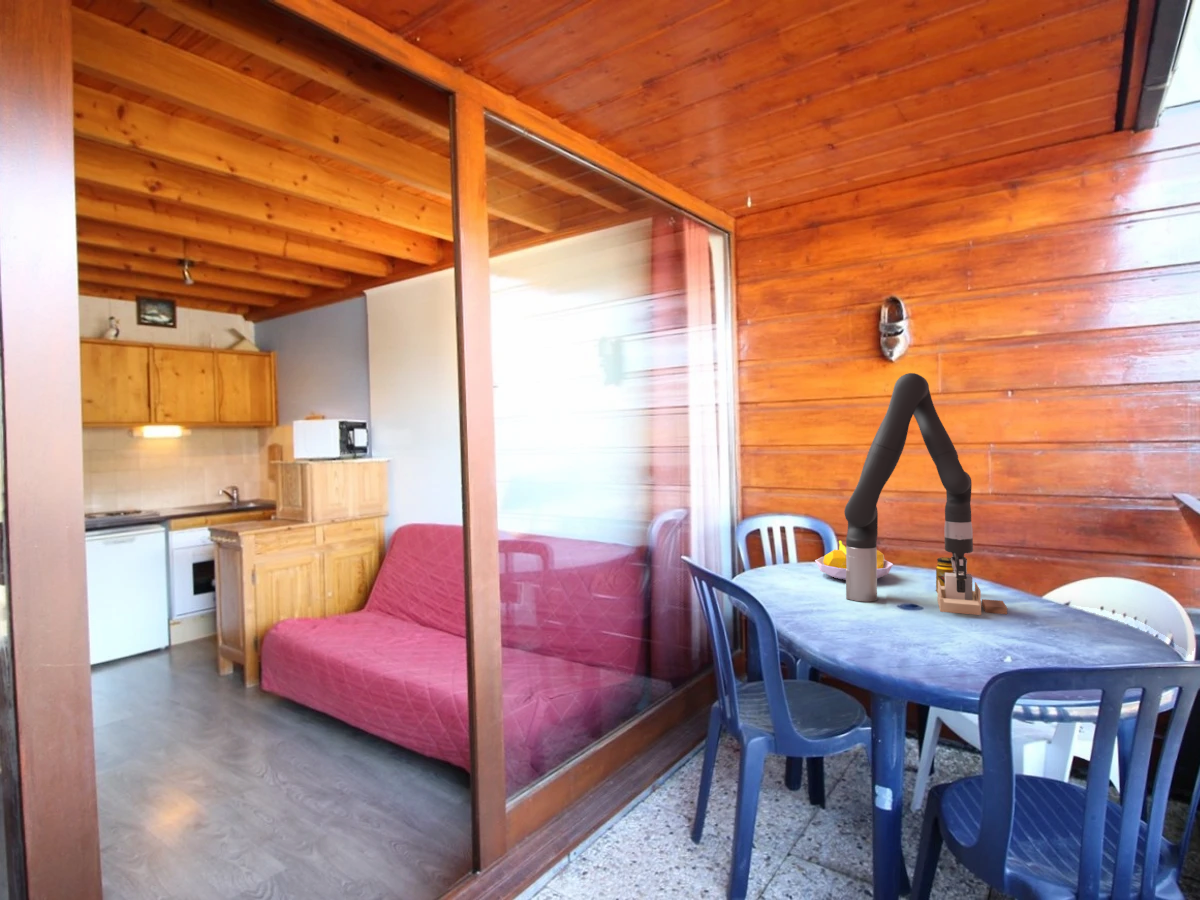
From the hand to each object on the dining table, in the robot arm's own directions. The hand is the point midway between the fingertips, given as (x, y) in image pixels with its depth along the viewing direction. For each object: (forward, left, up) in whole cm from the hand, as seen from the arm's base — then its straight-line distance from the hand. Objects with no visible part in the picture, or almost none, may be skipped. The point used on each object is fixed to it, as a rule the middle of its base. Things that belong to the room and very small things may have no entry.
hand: (959, 588), depth 196 cm
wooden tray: (0, 0, -6) cm, 6 cm away
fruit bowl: (-32, +35, -7) cm, 48 cm away
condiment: (-3, +19, -7) cm, 20 cm away
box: (0, 0, -6) cm, 6 cm away
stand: (+9, +1, -6) cm, 11 cm away
